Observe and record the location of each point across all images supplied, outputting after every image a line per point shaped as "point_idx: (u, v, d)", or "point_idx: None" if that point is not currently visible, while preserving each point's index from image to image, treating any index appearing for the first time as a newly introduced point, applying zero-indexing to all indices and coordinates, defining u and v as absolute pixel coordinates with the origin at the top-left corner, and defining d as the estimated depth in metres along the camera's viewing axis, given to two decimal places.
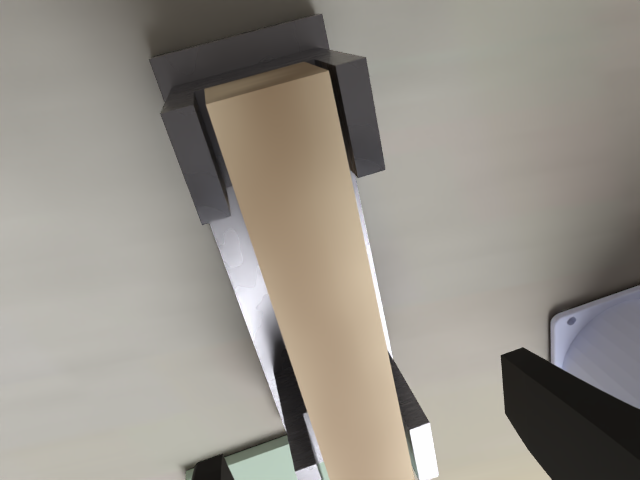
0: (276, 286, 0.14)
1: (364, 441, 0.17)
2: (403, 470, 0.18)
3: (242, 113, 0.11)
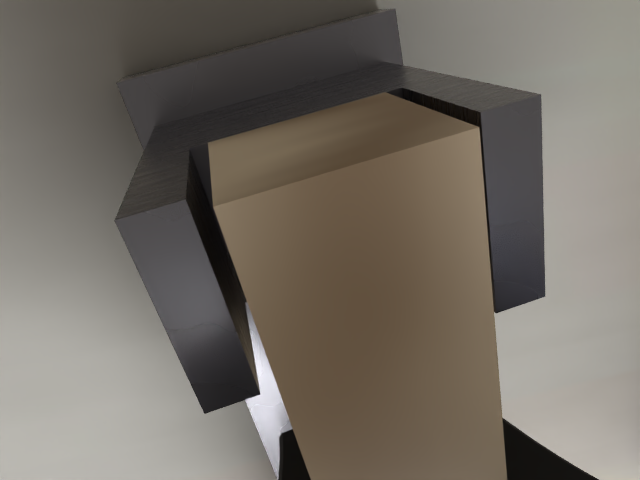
0: None
1: None
2: None
3: (292, 221, 0.05)
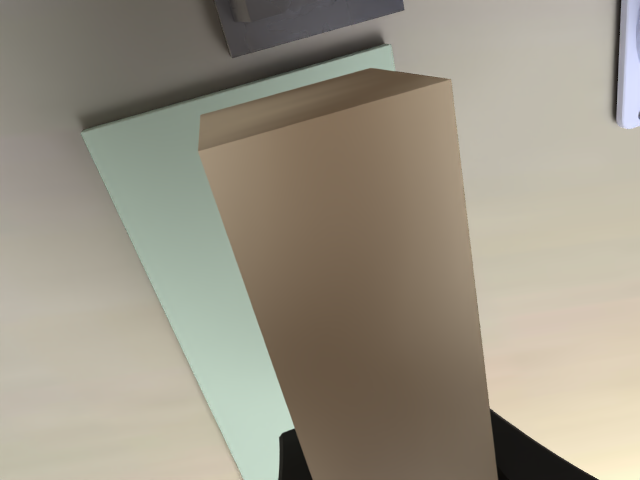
0: (328, 471, 0.07)
1: None
2: None
3: (273, 168, 0.06)
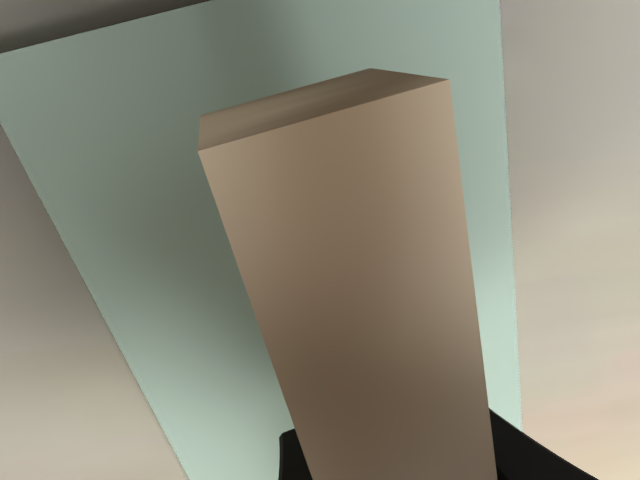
0: (328, 469, 0.07)
1: None
2: None
3: (273, 167, 0.06)
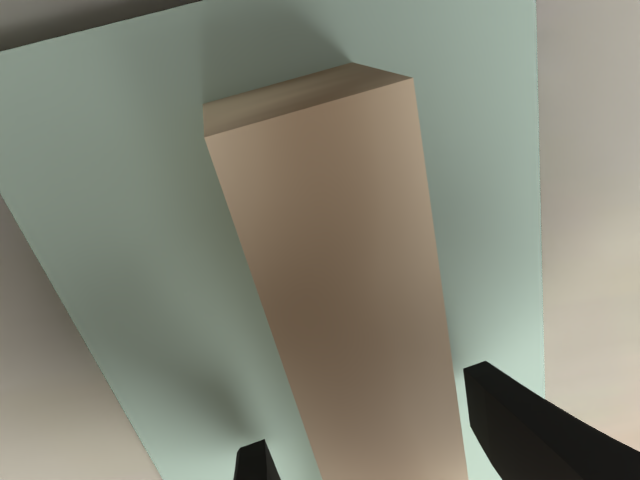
0: (313, 408, 0.09)
1: None
2: None
3: (266, 152, 0.07)
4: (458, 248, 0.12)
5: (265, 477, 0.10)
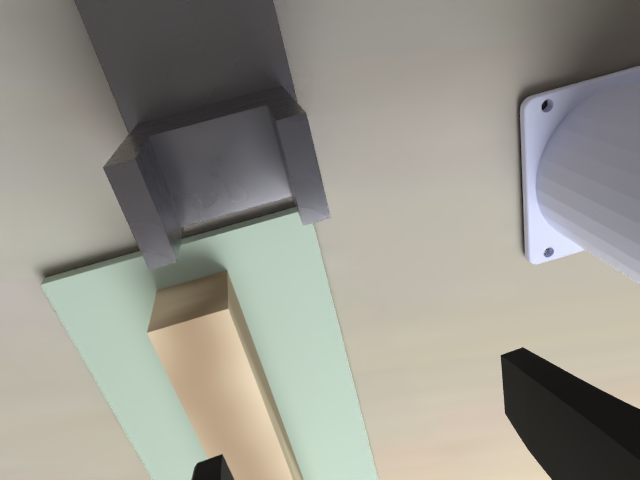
0: (202, 431, 0.20)
1: None
2: None
3: (171, 335, 0.18)
4: (295, 347, 0.22)
5: None
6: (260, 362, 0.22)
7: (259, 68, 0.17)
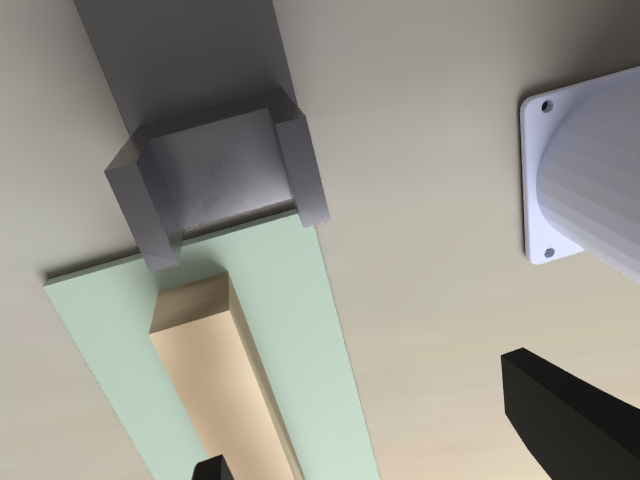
0: (204, 432, 0.20)
1: None
2: None
3: (173, 337, 0.18)
4: (296, 347, 0.23)
5: None
6: (261, 363, 0.22)
7: (259, 71, 0.17)
